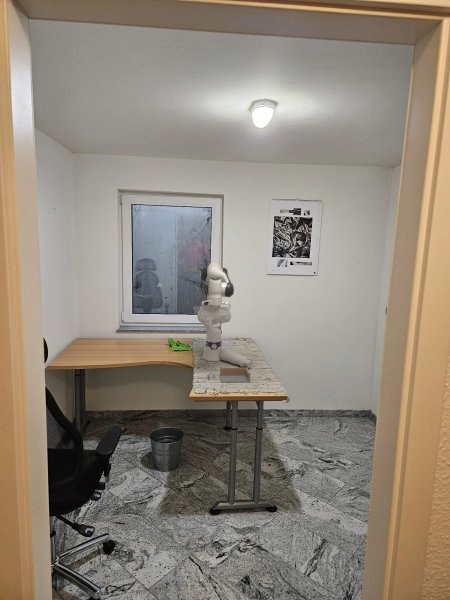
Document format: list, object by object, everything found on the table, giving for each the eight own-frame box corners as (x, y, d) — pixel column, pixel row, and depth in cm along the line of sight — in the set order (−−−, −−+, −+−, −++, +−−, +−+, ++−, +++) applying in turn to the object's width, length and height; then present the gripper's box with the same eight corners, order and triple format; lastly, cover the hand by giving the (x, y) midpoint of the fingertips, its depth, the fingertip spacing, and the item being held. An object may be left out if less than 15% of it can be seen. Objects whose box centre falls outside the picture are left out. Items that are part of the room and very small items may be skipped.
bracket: (209, 376, 237) (209, 367, 236) (215, 376, 237) (215, 367, 237) (209, 380, 228) (209, 371, 227) (216, 380, 228) (216, 371, 228)
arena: (219, 376, 237) (220, 367, 236) (247, 375, 238) (247, 367, 238) (221, 382, 224) (221, 373, 223) (250, 382, 226) (250, 373, 225)
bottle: (216, 356, 272) (243, 367, 249) (222, 345, 274) (249, 355, 251) (224, 361, 277) (251, 372, 254) (229, 351, 279) (256, 361, 256)
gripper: (230, 302, 240) (229, 322, 241) (199, 301, 238) (199, 322, 239) (231, 303, 234) (230, 324, 235) (199, 302, 232) (199, 323, 233)
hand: (214, 323), depth 237 cm, fingers open, 8 cm apart
